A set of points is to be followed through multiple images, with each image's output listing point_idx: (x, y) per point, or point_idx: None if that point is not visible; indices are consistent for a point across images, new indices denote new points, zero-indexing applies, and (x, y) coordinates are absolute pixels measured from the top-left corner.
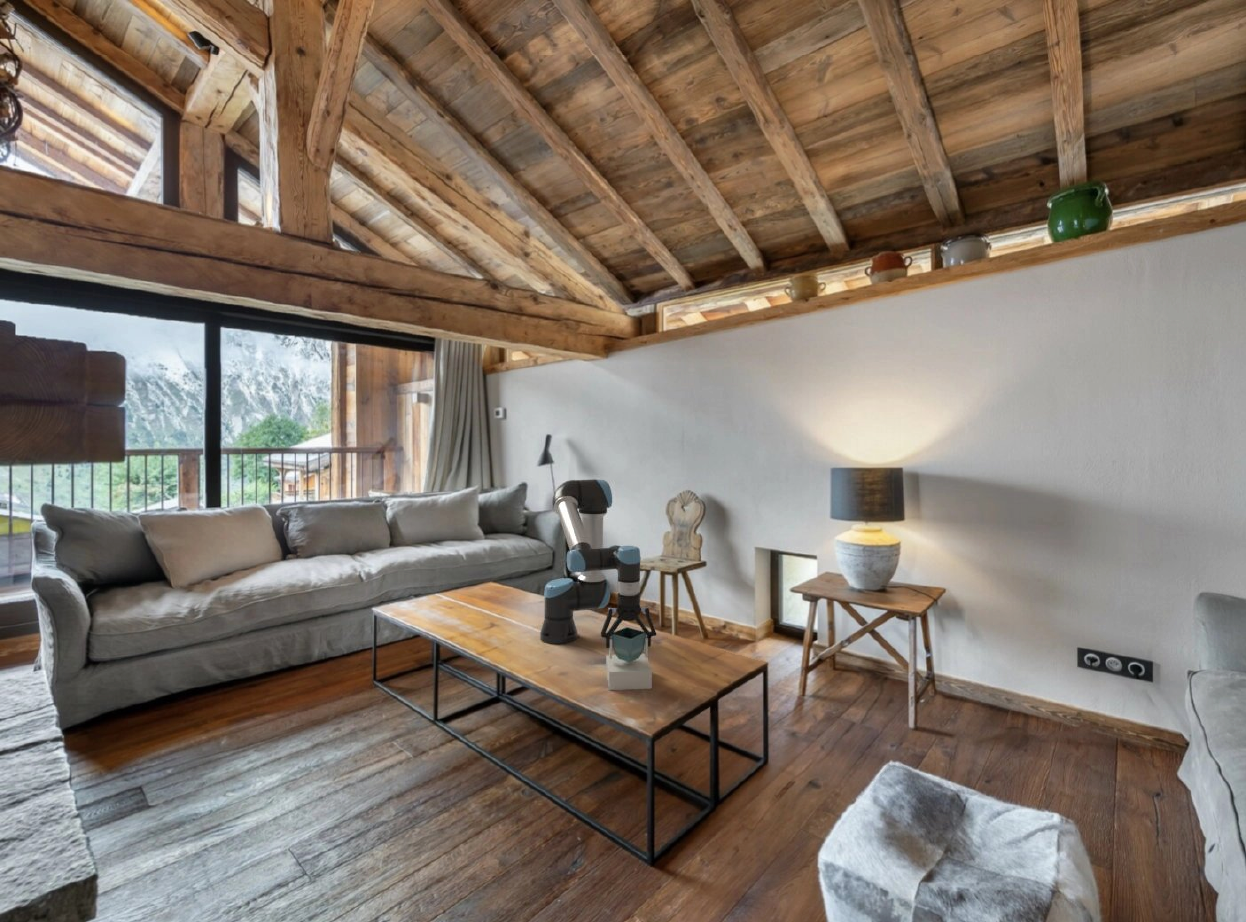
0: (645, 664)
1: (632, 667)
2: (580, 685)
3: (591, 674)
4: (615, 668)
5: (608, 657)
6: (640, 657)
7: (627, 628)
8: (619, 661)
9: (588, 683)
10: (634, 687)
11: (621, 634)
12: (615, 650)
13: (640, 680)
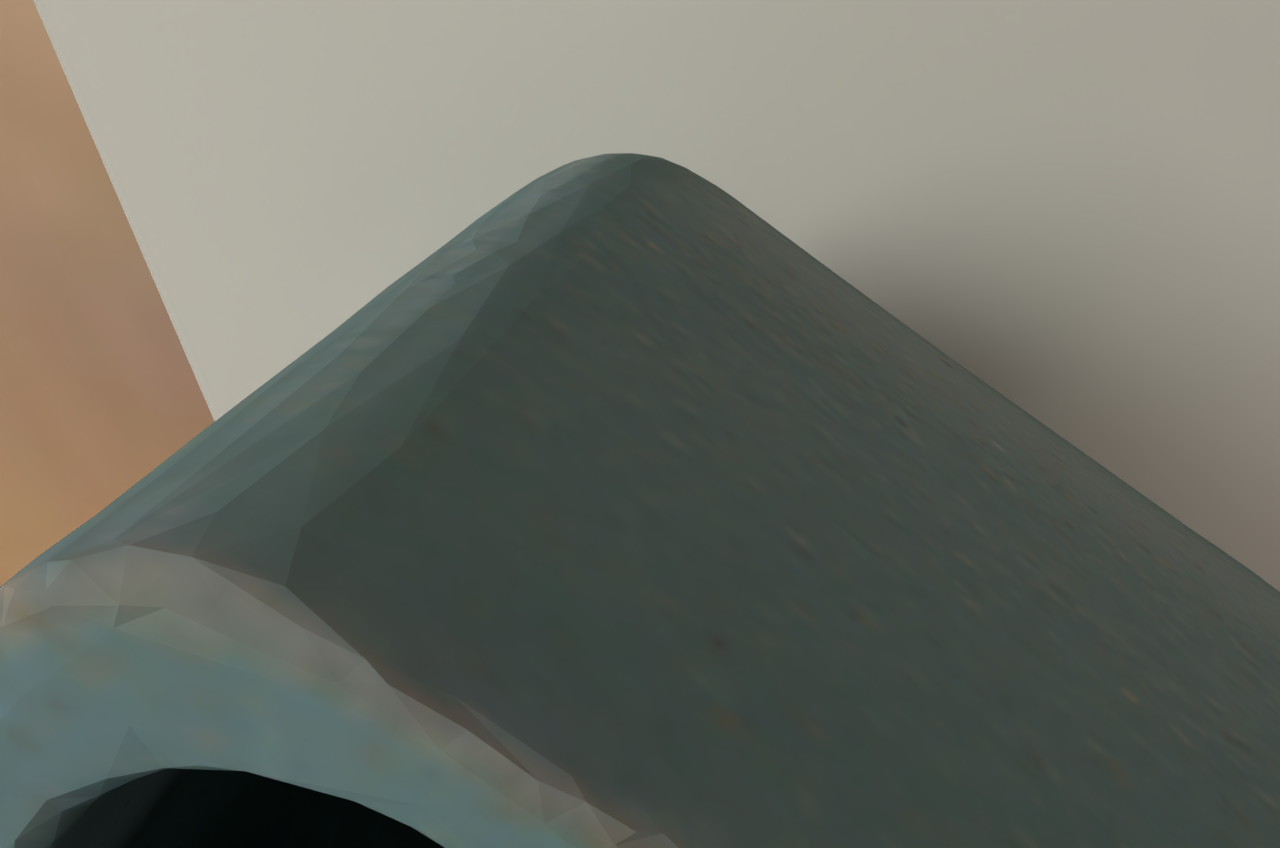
0: (1263, 551)
1: None
2: (24, 460)
3: (6, 25)
4: None
5: (135, 119)
6: (1201, 51)
7: (291, 720)
8: None
9: (111, 396)
10: None
11: (114, 828)
12: (291, 801)
13: None
